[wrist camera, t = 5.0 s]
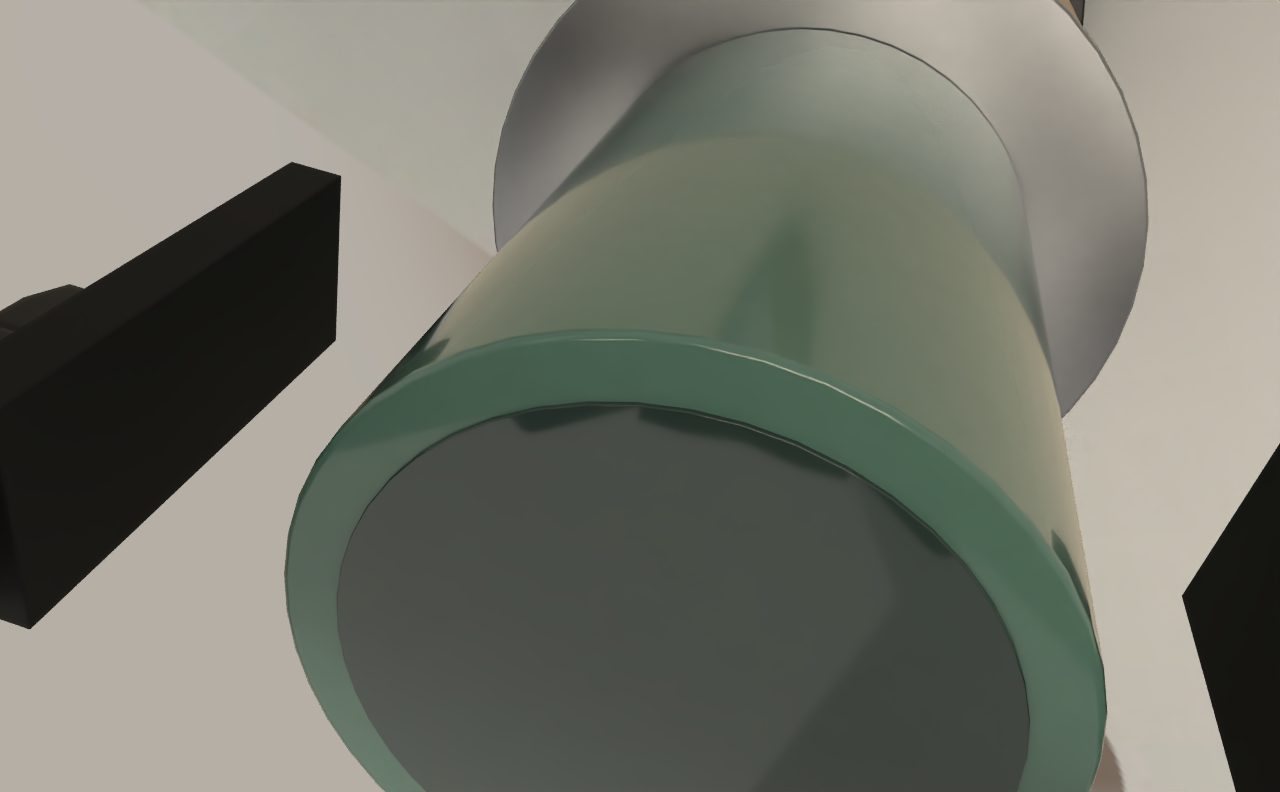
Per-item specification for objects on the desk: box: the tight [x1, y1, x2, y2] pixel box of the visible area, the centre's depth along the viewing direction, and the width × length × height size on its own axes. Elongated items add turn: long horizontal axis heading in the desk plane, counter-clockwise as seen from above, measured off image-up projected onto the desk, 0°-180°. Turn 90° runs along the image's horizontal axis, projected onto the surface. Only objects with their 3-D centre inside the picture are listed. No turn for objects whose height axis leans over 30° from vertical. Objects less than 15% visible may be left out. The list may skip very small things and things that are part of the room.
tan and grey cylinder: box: [493, 0, 1148, 419], centre depth 27 cm, size 13×13×20 cm
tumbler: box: [284, 29, 1107, 792], centre depth 14 cm, size 8×8×10 cm
